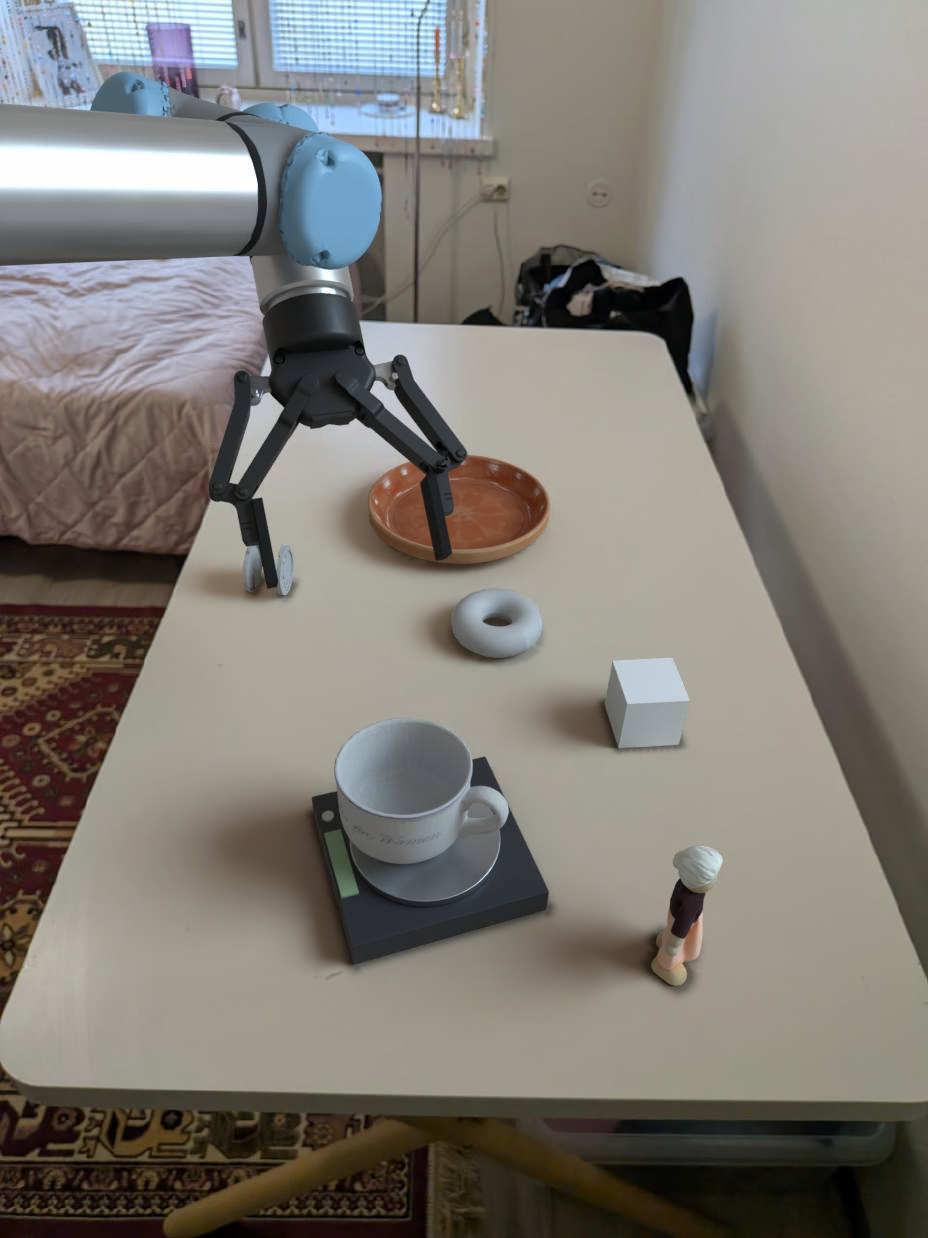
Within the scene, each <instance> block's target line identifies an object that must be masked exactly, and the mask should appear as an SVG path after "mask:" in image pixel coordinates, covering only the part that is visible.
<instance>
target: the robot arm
mask: <svg viewBox="0 0 928 1238" xmlns="http://www.w3.org/2000/svg"><path fill="white" fill-rule="evenodd" d="M382 196H383V195H382V187H381V182H380V178H379V175H378V173H377V171H376V169H375V166H374V165H373V163H372V161H371V160H370V159H369V157H368V156H367V155H366V154H365V152H363V151H362V150H361V149H359V148H358V147H356V146H355V145H353V144H351V143H348V142H345V141H343V140H341V139H339V138H336V137H334V136H333V135H332V134H331V133H329V132H325V131H320V130H319V127H318V125H317V123H316V121H315V120H314V119H313V118H312V116H311V115H310V114H309V113H307V111H306V110H305V109H302V108H300V107H298V106H296V105H293V104H290V103H285V104H282V105H276V104H275V103H274V102H272V101H271V102H269V101H268V102H261V103H257V104H254V105H251V106H248V107H247V108H244V109H243V110H239V109H236V108H232V107H229V106H225V105H222V104H219V103H215V102H212V101H209V100H205V99H203V98H199V97H195V96H192V95H189V94H187V93H184V92H183V91H181V90H178V89H176V88H174V87H171V86H170V85H168V84H167V83H166V82H165V81H162V80H159V79H157V80H154V79H152V78H149V77H146V76H144V75H141V74H139V73H136V72H133V71H120V72H116V73H114V74H112V75H110V76H109V77H108V78H107V79H106V80H105V81H104V82H102V84H101V85H100V87H99V89H98V90H97V92H96V93H95V96H94V98H93V100H92V102H91V106H90V108H89V110H88V109H76V108H66V107H65V108H64V107H54V106H53V107H52V106H39V105H26V104H14V103H1V102H0V267H6V266H8V267H9V266H11V267H12V266H31V265H32V266H35V265H57V264H59V265H60V264H82V263H102V262H126V261H127V262H129V261H151V260H175V259H176V260H177V259H178V260H179V259H200V258H224V257H225V258H227V257H240V258H241V257H249V261H250V265H251V267H252V273H253V279H254V284H255V290H256V296H257V301H258V305H259V311H260V312H261V314H262V315H263V318H262V328H263V333H264V339H265V344H266V348H267V353H268V359H269V364H270V373H269V375H259V376H258V375H250V374H249V373H248V372H247V371H245V370H237V371H236V372H235V374H234V375H233V400H234V401H233V402H234V403H233V405H232V410H231V412H230V416H229V419H228V422H227V425H226V428H225V431H224V435H223V438H222V441H221V444H220V447H219V451H218V454H217V457H216V459H215V462H214V466H213V470H212V473H211V475H210V479H209V482H208V496H209V499H210V500H211V501H213V502H215V503H219V502H222V503H226V504H230V505H232V506H233V507H234V508H235V510H236V513H237V514H236V515H237V519H238V525H239V529H240V535H241V541H242V543H243V544H244V546H245V547H246V548H248V546H254V545H258V546H259V551H260V556H261V562H262V573H263V577H264V581H265V587H266V590H270V589H275V588H276V589H277V585H278V577H277V572H276V569H277V566H276V562H275V556H274V551H273V546H272V541H271V536H270V530H269V525H268V519H267V514H266V510H265V505H264V499H263V497H256V498H254V496H255V495H256V493H257V491H258V490H259V488H260V486H261V485H262V483H263V482H264V480H265V478H267V476H268V474H269V472H270V470H271V469H272V467H273V466H274V465H275V463H276V461H277V459H278V457H279V456H280V454H281V453H282V451H283V449H284V448H285V446H286V445H287V443H288V442H289V440H290V438H291V437H292V436H293V434H294V433H295V431H296V429H297V427H298V426H299V425H300V424H301V425H303V426H305V427H308V428H309V429H310V430H316V429H321V428H323V427H326V426H328V425H332V426H339V427H340V426H347V425H350V423H352V422H353V421H354V420H355V419H356V420H357V421H358V422H359V423H361V424H362V425H363V426H364V427H365V428H368V429H370V430H372V431H373V432H375V434H377V435H378V436H379V437H380V438H382V439H383V440H384V442H386V443H388V444H389V445H390V446H391V447H392V448H393V449H395V450H396V451H397V452H398V453H399V454H401V456H403V457H404V458H405V459H407V460H408V462H411V463H412V464H414V465H415V466H416V467H417V468H418V469H420V470H421V471H422V472H423V473H424V474H425V475H426V476H425V477H424V479H423V480H422V481H421V482H420V487H421V491H422V496H423V501H424V506H425V511H426V516H427V521H428V526H429V531H430V536H431V541H432V545H433V550H434V555H435V560H436V561H438V560H444V559H446V558H447V557H448V556H450V555H451V554H452V549H451V544H450V539H449V534H448V530H447V525H446V520H445V516H449V515H450V514H452V513H453V511H454V500H453V496H452V491H451V486H450V481H449V472H450V471H451V470H453V469H456V468H458V467H459V466H460V465H461V464H462V463H463V461H464V460H465V459H466V458H467V455H468V451H467V449H466V448H465V446H464V444H462V442H461V440H460V439H459V438H458V437H457V435H456V434H455V433H454V431H453V430H452V428H451V427H450V426H449V425H448V423H447V422H446V421H445V419H444V418H443V417H442V415H441V414H440V412H439V411H438V410H437V408H436V407H435V406H434V404H433V403H432V402H431V400H430V399H429V398H428V396H427V395H426V394H425V392H424V391H423V389H422V388H421V387H420V386H419V385H418V383H417V381H415V378H414V375H413V372H412V369H411V366H410V363H409V360H408V358H407V357H406V355H404V354H396V355H395V356H394V357H393V359H392V360H390V361H385V362H382V363H377V364H373V363H372V362H371V361H370V359H369V358H368V356H367V352H366V347H365V343H364V342H365V341H364V338H363V332H362V328H361V323H360V317H359V313H358V307H357V305H356V304H355V302H353V301H354V299H355V298H354V297H355V293H354V288H353V282H352V280H351V274H350V273H351V272H350V271H349V270H350V269H349V266H351V265H353V264H354V263H355V262H357V261H358V259H360V258H361V257H362V256H363V255H364V254H365V252H367V250H368V249H369V247H370V246H371V245H372V242H373V241H374V239H375V236H376V234H377V232H378V228H379V226H380V221H381V212H382V201H383V200H382V199H383V197H382ZM375 382H380V383H382V384H383V385H384V387H385V388H386V389H387V390H388V391H393V392H394V394H395V397H396V399H397V400H398V402H399V403H400V405H401V406H402V407H403V409H404V410H405V412H406V413H407V414H408V415H409V417H410V418H411V419H412V420H413V422H414V424H415V425H416V426H417V427H418V429H419V430H420V432H422V434H423V435H424V437H425V438H426V439H427V441H428V443H430V444H431V445H430V444H428V443H427V442H426V441H425V440H424V439H423V438H422V437H420V436H419V435H418V434H417V433H415V432H414V431H413V430H412V429H411V428H410V427H408V426H407V425H406V424H405V423H404V422H403V421H402V420H400V419H399V418H398V417H397V416H396V415H394V414H393V413H392V412H390V410H388V409H387V408H386V406H385V404H384V403H383V402H382V401H381V400H380V399H379V398H378V397H377V396H375V395H374V394H373V393H372V392H371V390H372V389H373V386H374V385H375ZM268 393H269V395H270V396H271V397H272V398H273V399H274V400H275V401H276V402H277V403H278V404H279V405H281V406H282V408H283V409H282V410H281V412H280V415H279V416H278V418H277V419H276V421H275V423H274V425H273V427H272V428H271V430H270V431H269V433H268V434H267V436H266V438H265V439H264V441H263V443H262V444H261V446H260V448H259V449H258V451H257V452H256V454H255V456H254V457H253V459H252V461H251V462H250V463H249V465H248V467H247V468H246V470H245V472H244V473H243V475H242V476H241V478H240V479H239V481H238V483H234V482H230V481H231V478H232V475H233V472H234V469H235V466H236V462H237V459H238V456H239V454H240V450H241V446H242V443H243V440H244V437H245V433H246V431H247V427H248V424H249V421H250V416H251V410H252V407H257V406H259V404H261V401H262V397H264V395H265V394H268ZM431 446H432V447H431Z"/></svg>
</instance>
